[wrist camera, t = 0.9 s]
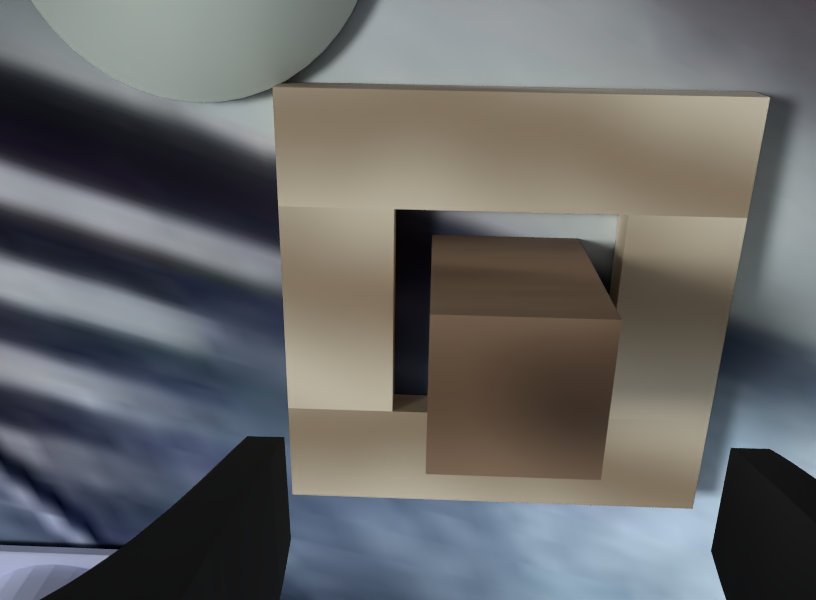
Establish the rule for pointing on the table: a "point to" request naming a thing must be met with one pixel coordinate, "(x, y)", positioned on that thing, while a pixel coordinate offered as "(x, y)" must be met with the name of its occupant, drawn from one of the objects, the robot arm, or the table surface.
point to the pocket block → (508, 192)
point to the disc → (198, 41)
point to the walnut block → (518, 359)
